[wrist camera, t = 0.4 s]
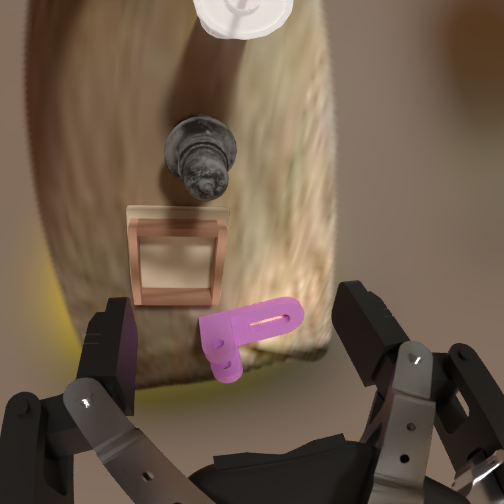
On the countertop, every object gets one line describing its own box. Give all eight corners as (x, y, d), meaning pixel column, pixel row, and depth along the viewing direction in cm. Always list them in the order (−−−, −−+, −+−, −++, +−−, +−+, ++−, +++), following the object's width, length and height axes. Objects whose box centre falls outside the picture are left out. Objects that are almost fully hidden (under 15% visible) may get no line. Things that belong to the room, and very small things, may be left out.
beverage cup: (275, 14, 22) (350, -17, 11) (229, 60, 24) (268, 57, 13) (223, -27, 19) (259, -93, 8) (175, 20, 21) (167, -20, 10)
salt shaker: (198, 184, 30) (209, 252, 20) (152, 144, 27) (135, 195, 17) (243, 140, 29) (279, 188, 19) (198, 97, 26) (208, 118, 16)
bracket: (209, 344, 43) (215, 385, 37) (198, 316, 39) (203, 359, 34) (301, 320, 44) (318, 359, 38) (299, 291, 40) (318, 330, 35)
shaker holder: (127, 205, 30) (123, 219, 27) (228, 207, 32) (232, 221, 30) (133, 293, 35) (131, 311, 33) (219, 293, 38) (222, 311, 35)
